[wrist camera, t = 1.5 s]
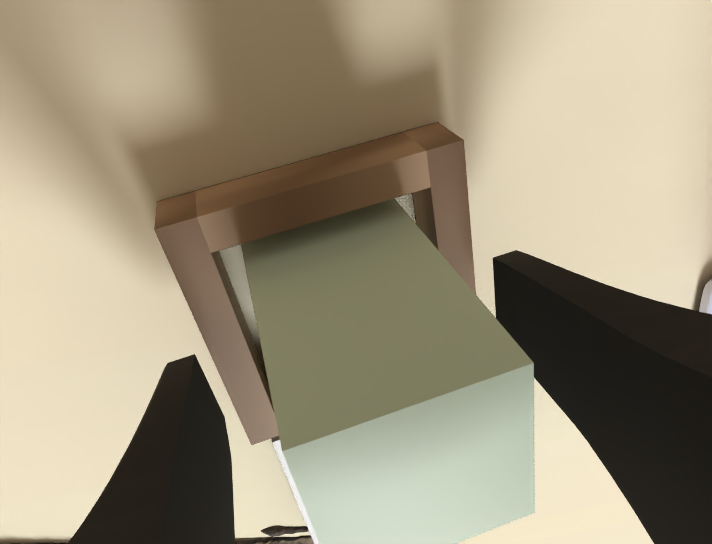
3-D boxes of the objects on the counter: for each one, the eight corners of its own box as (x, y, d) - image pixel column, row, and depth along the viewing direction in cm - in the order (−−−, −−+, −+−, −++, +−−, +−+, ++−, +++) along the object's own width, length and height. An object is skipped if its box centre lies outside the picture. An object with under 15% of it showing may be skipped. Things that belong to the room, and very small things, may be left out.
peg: (389, 192, 14) (534, 362, 8) (409, 311, 16) (534, 512, 10) (239, 237, 14) (281, 451, 8) (280, 354, 16) (338, 589, 10)
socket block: (437, 122, 13) (463, 139, 12) (459, 335, 17) (481, 365, 16) (157, 201, 13) (154, 229, 11) (246, 407, 16) (251, 444, 15)
